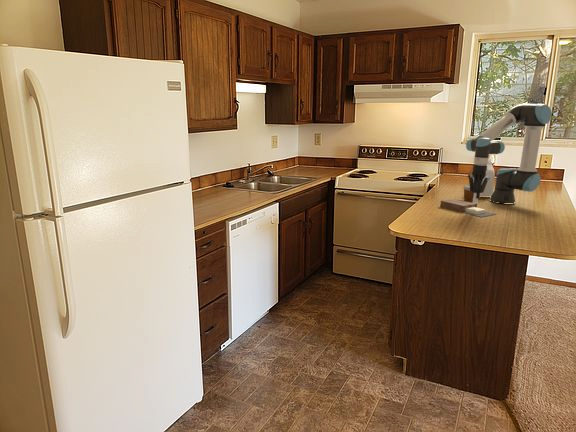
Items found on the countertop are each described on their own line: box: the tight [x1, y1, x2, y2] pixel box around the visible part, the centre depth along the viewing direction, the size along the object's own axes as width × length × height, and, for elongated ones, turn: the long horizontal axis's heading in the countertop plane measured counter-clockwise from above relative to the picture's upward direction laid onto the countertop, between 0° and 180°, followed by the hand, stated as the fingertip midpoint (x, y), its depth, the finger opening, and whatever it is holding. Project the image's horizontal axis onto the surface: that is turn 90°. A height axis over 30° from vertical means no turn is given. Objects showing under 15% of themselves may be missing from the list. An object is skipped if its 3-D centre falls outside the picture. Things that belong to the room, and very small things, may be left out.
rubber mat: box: [462, 210, 496, 218], centre depth 255 cm, size 15×12×1 cm
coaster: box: [465, 207, 486, 214], centre depth 257 cm, size 8×8×2 cm
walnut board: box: [439, 198, 478, 213], centre depth 267 cm, size 14×16×4 cm
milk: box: [473, 159, 496, 196], centre depth 306 cm, size 12×12×26 cm
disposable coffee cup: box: [463, 184, 473, 203], centre depth 278 cm, size 10×10×12 cm
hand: (474, 203), depth 257 cm, fingers closed
